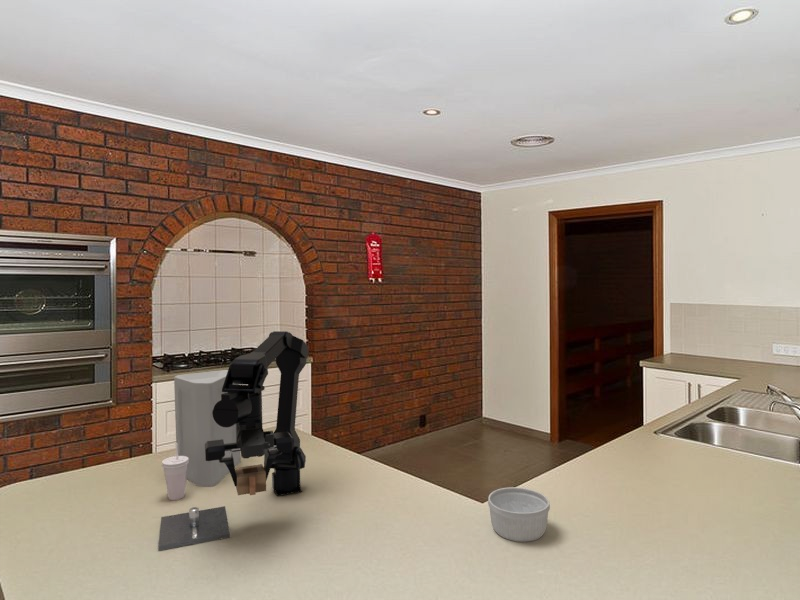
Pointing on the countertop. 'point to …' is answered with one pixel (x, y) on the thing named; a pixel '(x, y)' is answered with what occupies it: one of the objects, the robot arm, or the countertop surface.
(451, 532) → the countertop surface
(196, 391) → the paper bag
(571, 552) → the countertop surface
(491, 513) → the ramekin
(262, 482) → the wooden cubby with handle
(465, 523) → the countertop surface
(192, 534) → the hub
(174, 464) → the smoothie
